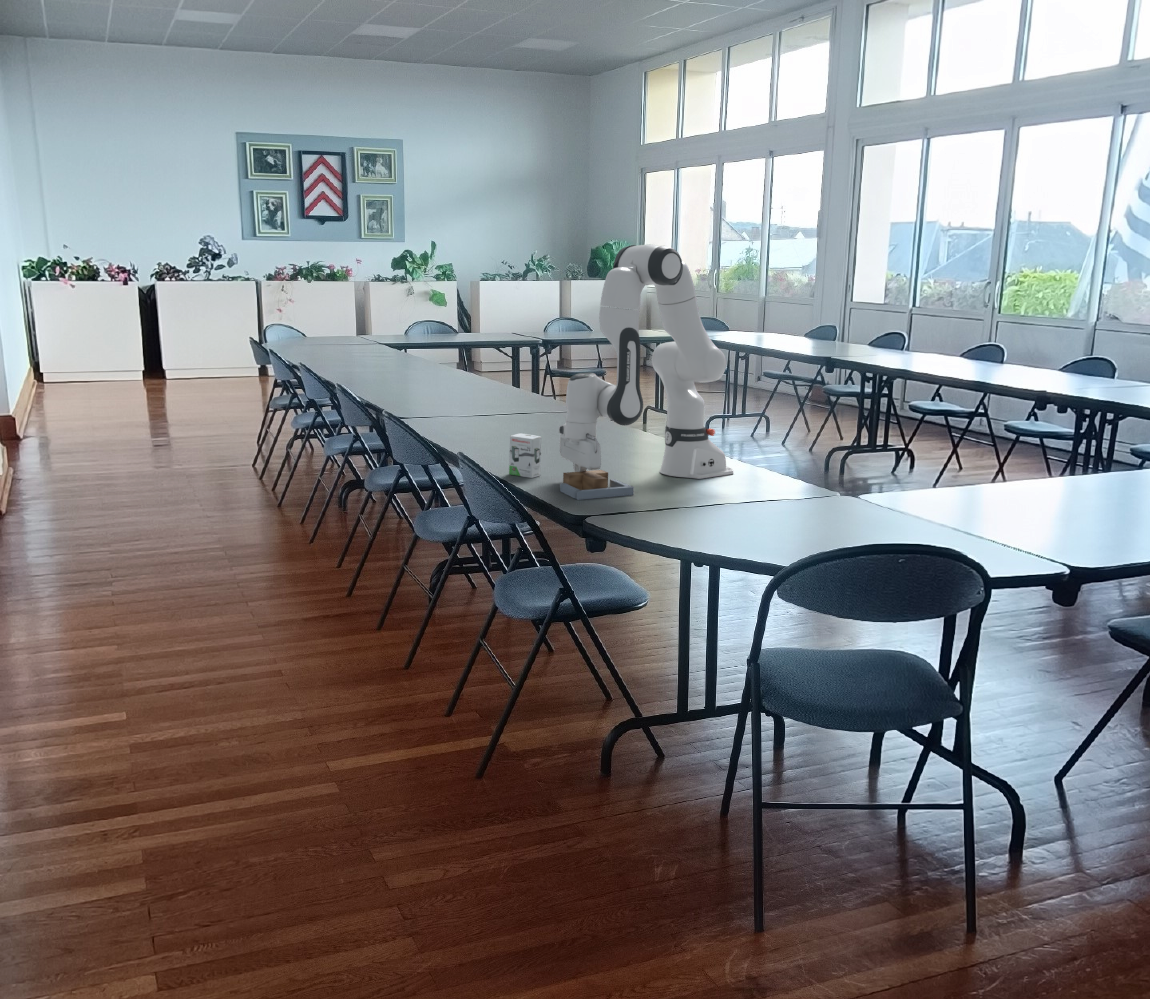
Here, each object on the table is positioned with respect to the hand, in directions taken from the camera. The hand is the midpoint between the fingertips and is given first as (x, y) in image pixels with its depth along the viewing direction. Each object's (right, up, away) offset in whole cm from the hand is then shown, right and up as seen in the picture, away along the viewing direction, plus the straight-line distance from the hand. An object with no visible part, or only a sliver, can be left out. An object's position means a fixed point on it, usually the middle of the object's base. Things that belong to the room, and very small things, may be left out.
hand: (579, 479), depth 298 cm
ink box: (-16, +1, +13) cm, 21 cm away
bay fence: (+5, -4, -9) cm, 10 cm away
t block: (+3, -3, -6) cm, 8 cm away
